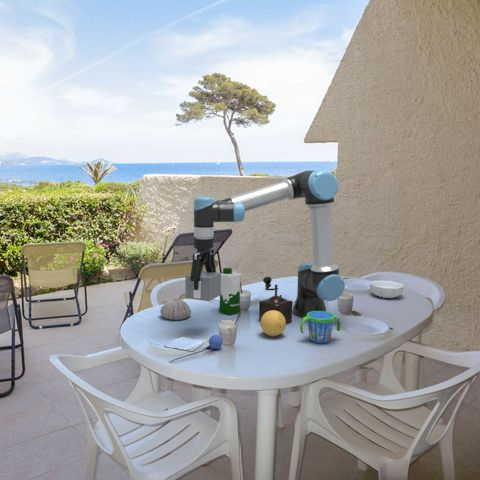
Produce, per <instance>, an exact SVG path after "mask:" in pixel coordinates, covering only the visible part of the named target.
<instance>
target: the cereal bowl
mask: <svg viewBox="0 0 480 480" xmlns="http://www.w3.org/2000/svg"><path fill="white" fill-rule="evenodd" d="M369 290H370V291H371V293H372V294H374V295H375V296H379V297H378V298H380V297H384V298H383V299H385V298H392V299H394V298H396V297H399V296H401V294H402V293H403V292H404V285H403V284H402V283H400V282H396V281H393V280H392V281H391V280H373V281H370V283H369ZM393 297H394V298H393Z"/></svg>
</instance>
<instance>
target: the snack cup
mask: <svg viewBox="0 0 480 480" xmlns="http://www.w3.org/2000/svg"><path fill="white" fill-rule="evenodd" d="M335 319H337V321H336V331H337V332H340V331H341V328H342V327H341V326H342V325H341V320H340V318H339V317H338V316H336V315H335V314H334V313H332V312H330V311H326V312H325V311H312V312H309V313H307V316H306V317H302V320H301V321H300V326H299V328H300V333H301V334H304V323H305V322H306V321H307V325H308V333H309V339H310V341H311V342H313V343H314V344H326V343H330V340H331V338H332V333H333V327H334V322H335Z"/></svg>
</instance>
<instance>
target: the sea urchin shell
mask: <svg viewBox="0 0 480 480" xmlns="http://www.w3.org/2000/svg"><path fill="white" fill-rule="evenodd" d="M159 311H160V315H161V316H162V317H163V318H165V319H166V320H172V321H173V320H175V321H183V320H186V319H188V318H189V317H190V316H191V314H192V309H191V307H190V306H189V304H188V303H187V302H186V301H184V300H183V299H180V298H173V299H169V300H167V301H166V302H164V304H163V305H162V306H161V308H160V310H159Z"/></svg>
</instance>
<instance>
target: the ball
mask: <svg viewBox="0 0 480 480" xmlns="http://www.w3.org/2000/svg"><path fill="white" fill-rule="evenodd" d="M223 343H224V339H223V338H222V337H221V336H220V335H219V334H213V335H211V336H210V338H209V339H208V345H209V346H210V348H212V349H213V350H219V349H220V348H221V347H222V346H223Z"/></svg>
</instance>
